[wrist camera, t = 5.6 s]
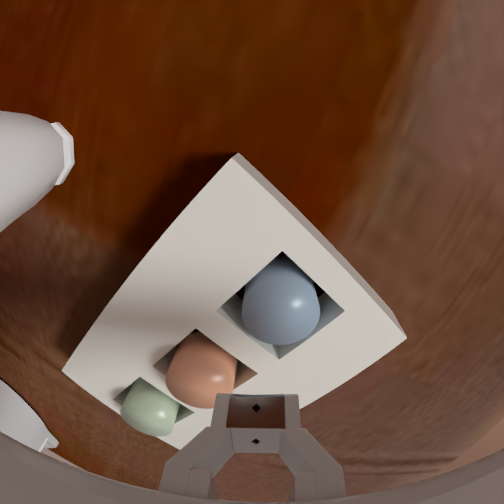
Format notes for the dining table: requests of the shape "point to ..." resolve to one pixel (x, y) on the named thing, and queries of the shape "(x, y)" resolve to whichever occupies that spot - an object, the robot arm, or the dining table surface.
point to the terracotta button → (200, 371)
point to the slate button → (280, 303)
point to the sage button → (149, 409)
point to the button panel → (232, 304)
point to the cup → (30, 162)
